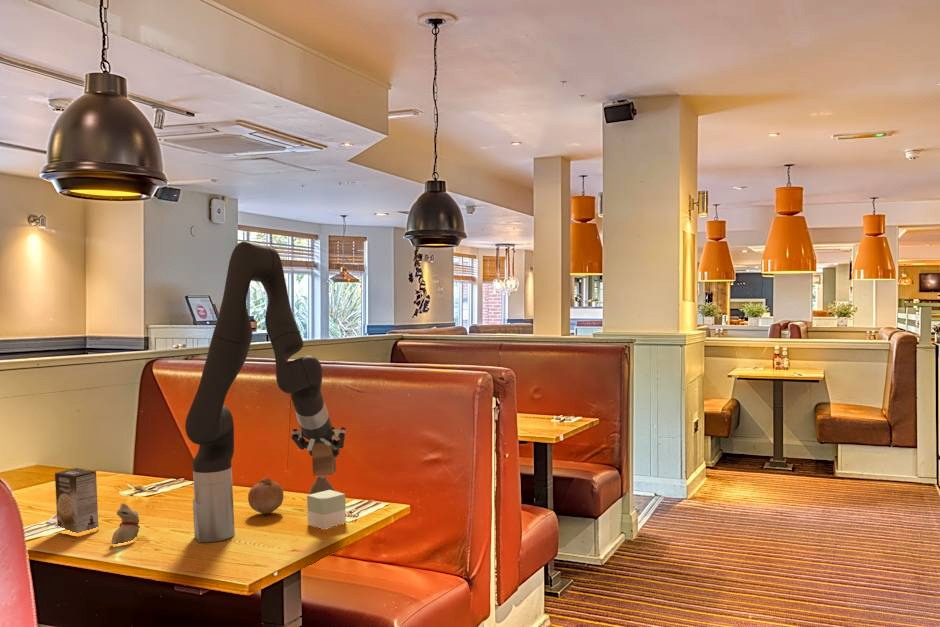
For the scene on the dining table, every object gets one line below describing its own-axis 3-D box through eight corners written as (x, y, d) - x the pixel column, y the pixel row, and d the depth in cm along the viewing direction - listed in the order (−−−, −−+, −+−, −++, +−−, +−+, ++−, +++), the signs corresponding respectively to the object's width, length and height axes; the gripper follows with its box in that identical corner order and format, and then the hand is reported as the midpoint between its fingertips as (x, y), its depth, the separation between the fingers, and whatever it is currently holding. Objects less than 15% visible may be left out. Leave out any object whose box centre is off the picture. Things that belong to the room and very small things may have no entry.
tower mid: (323, 515, 200) (322, 499, 200) (307, 510, 205) (307, 495, 205) (345, 509, 205) (345, 493, 205) (330, 504, 210) (329, 489, 210)
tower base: (323, 530, 200) (322, 515, 200) (308, 525, 205) (307, 510, 205) (345, 524, 205) (345, 509, 205) (330, 519, 210) (329, 504, 210)
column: (332, 475, 202) (330, 436, 202) (313, 475, 202) (311, 436, 202) (336, 470, 207) (334, 432, 207) (317, 471, 207) (315, 433, 207)
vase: (329, 511, 217) (328, 479, 217) (306, 511, 218) (304, 479, 218) (338, 504, 224) (337, 474, 223) (315, 504, 225) (314, 473, 225)
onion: (291, 512, 218) (289, 476, 218) (265, 521, 210) (263, 483, 210) (267, 507, 223) (266, 472, 223) (241, 516, 215) (239, 480, 215)
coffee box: (56, 533, 206) (53, 472, 205) (79, 526, 211) (76, 467, 211) (77, 538, 201) (74, 475, 201) (100, 531, 207) (97, 470, 206)
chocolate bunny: (146, 540, 197) (144, 501, 196) (113, 548, 191) (111, 508, 191) (137, 536, 201) (135, 497, 200) (105, 544, 195) (103, 504, 195)
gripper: (343, 403, 196) (354, 441, 209) (286, 404, 197) (300, 443, 209) (340, 427, 191) (351, 466, 203) (281, 429, 192) (296, 467, 204)
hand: (325, 454), depth 206 cm, fingers closed on column, 5 cm apart
